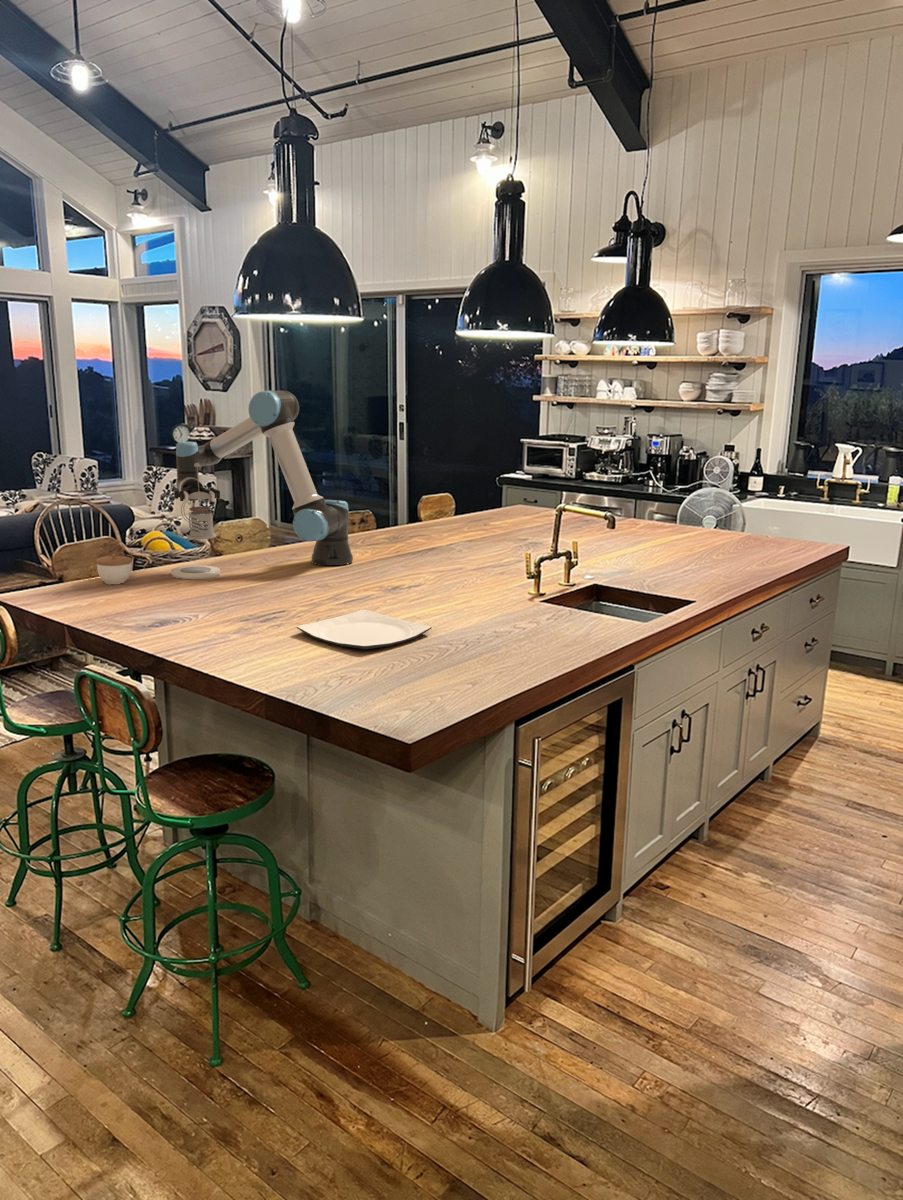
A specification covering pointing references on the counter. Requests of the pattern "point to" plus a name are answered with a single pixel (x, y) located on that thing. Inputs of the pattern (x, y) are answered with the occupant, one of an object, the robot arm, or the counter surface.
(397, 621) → the plate
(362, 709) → the counter surface
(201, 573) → the disc
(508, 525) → the counter surface
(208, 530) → the french press
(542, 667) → the counter surface
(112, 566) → the lidded jar
